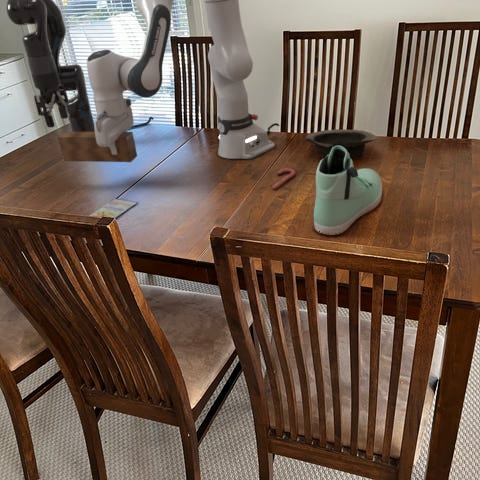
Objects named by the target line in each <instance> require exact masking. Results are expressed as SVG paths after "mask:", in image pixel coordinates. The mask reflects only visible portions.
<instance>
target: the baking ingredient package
mask: <svg viewBox="0 0 480 480" xmlns="http://www.w3.org/2000/svg"><path fill="white" fill-rule="evenodd" d="M136 204H137V202H135V201H129V200H124V199H118V198H114V199H112V200H111V201H109V202H108V203H106V204H104V205H103V206H101V207H100V208H98V209H96V210H95V211H93V212H92V213H91V214H89V215H88V216H94V217H104V216H106V217H114V219H116V218H118V217H119V216H120V215H122V214H123V213H124V212H126V211H128V210H129V209H130V208H132V207H133V206H134V205H136Z"/></svg>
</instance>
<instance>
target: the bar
mask: <svg viewBox="0 0 480 480" xmlns="http://www.w3.org/2000/svg"><path fill="white" fill-rule="evenodd" d="M57 139H58V143H59V147H60V151H61V154H62V157H63V161H64V162H95V163H98V162H99V163H100V162H102V163H105V162H106V163H132V162H133V161H134V160H135V159H136V158H137V157H138V154H137V153H138V151H137V148H136V143H135V138H134V132H133V131H127V132H124V133H123V134H122V135H121V136H119V137H118V139H117V140H116V141H115V146H116V148H118V151H119V152H118V153H117V154H116V155H113V154H112V153H111V149H110V148H109V147H100V146H98V144H97V142H96V136H95V132H72V131H65V132H63V133H62V134H60V135H59V136H58V137H57Z"/></svg>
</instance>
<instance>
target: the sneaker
mask: <svg viewBox="0 0 480 480" xmlns="http://www.w3.org/2000/svg"><path fill="white" fill-rule="evenodd" d="M317 165H318V166H317V168H316V172H315V201H314V207H313V225H314V229H315V231H316V232H318V233H320V234H323V235H326V236H327V235H328V236H336V235H339V234H342V233H344V232H345V231H347V230H348V229H349V228H350V227H351V226H352V225H353V224H354V222H356V221H357V220H358V219H359V218H360V217H362V216H363V215H365V214H367V213H370V212H372V210H374V209H375V208H377V207H378V205H380V203H381V200H382V196H383V184H382V183H383V182H382V179H381V176H380V175H379V173H378V172H377V171H376V170H374V169H372V168H367V167H365V168H358V169H357V168H355V167H354V161H353V159H352V158H351V159H350V156H349V153H348V152H347V150H346V149H345V148H344V147H342V146H334V147H333V148H332V149H331V152H330V154H329V155H327V156H326V157H325V158H324V159H323V158H322V159H321V160H320V161H319V163H318V164H317ZM343 230H344V231H343ZM319 231H320V232H319ZM322 232H323V233H322ZM339 232H340V233H339ZM326 233H327V234H326ZM328 233H329V234H328ZM335 233H337V234H335Z"/></svg>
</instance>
